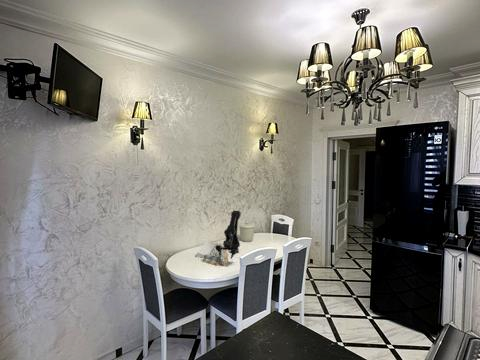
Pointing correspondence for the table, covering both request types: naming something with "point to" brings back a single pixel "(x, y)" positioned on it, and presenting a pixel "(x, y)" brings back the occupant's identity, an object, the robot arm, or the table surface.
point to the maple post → (225, 257)
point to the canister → (246, 231)
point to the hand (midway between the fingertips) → (225, 258)
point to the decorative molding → (205, 249)
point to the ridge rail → (212, 260)
